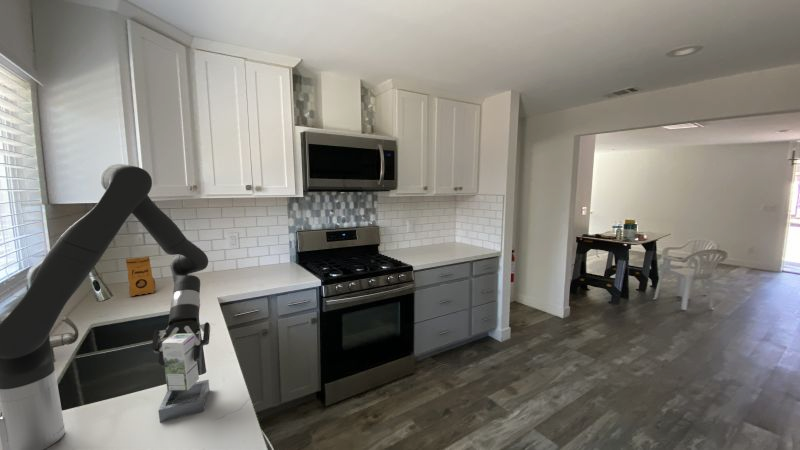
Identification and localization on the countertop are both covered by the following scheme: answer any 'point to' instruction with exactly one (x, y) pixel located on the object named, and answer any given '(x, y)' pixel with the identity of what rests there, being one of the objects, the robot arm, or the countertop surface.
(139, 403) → the countertop surface
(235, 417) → the countertop surface
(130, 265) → the coffee package
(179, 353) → the syrup box
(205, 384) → the gray square tray
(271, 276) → the countertop surface
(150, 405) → the countertop surface
